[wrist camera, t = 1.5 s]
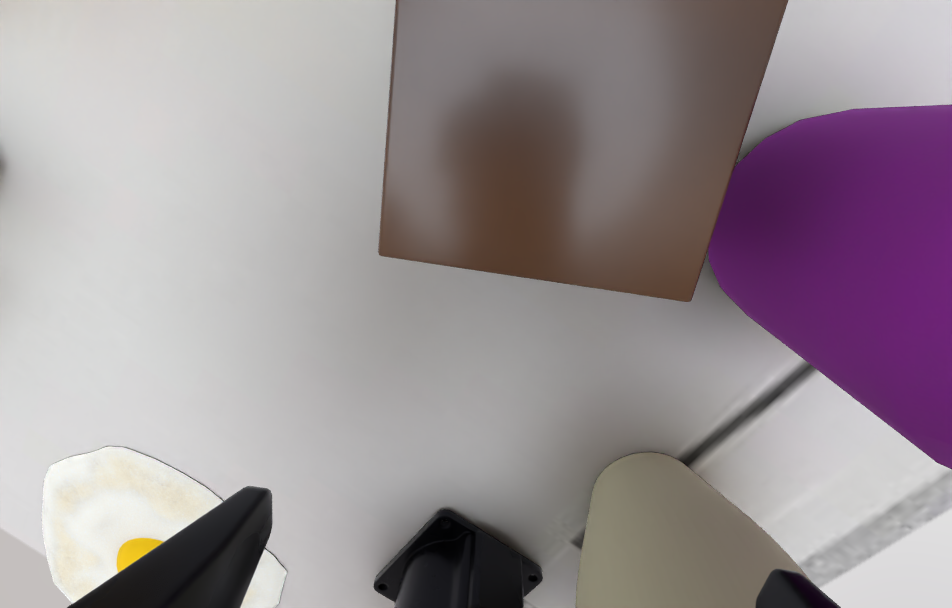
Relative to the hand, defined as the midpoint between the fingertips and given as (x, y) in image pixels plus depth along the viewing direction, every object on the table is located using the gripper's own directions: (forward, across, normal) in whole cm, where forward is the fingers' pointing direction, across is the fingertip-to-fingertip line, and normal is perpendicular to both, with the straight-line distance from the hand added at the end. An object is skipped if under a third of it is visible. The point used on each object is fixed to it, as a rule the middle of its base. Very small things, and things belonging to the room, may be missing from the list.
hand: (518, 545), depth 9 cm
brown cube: (+11, 0, -8) cm, 14 cm away
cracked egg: (+12, +16, +17) cm, 26 cm away
